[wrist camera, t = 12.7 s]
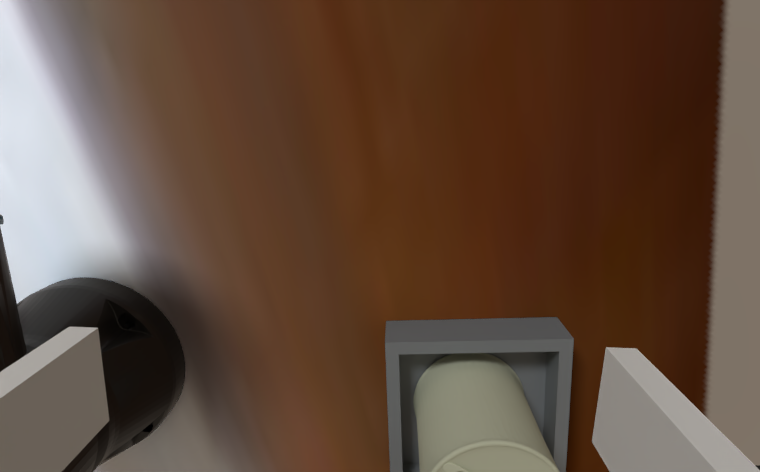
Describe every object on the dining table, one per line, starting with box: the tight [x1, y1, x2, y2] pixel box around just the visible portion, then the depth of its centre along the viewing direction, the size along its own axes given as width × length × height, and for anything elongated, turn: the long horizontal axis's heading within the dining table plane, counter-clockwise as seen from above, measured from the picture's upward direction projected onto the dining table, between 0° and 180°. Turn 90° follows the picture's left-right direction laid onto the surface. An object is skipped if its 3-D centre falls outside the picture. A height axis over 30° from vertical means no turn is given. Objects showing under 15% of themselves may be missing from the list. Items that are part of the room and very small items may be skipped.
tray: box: [385, 317, 574, 472], centre depth 41 cm, size 14×14×4 cm
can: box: [413, 353, 560, 472], centre depth 36 cm, size 9×9×12 cm
